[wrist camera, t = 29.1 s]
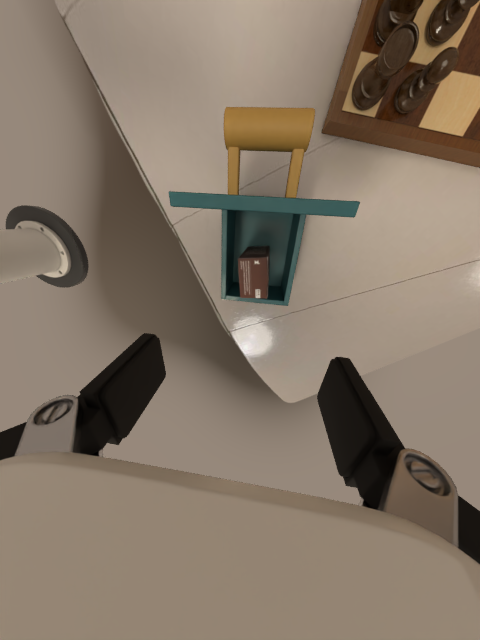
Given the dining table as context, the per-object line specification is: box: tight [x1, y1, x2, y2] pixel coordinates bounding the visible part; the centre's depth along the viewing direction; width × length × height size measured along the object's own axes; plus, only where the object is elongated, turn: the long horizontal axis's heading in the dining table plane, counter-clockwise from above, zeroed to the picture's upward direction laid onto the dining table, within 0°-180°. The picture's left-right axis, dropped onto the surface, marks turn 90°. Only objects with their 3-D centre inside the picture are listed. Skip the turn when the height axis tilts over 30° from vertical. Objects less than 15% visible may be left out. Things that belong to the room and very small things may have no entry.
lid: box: [169, 107, 360, 217], centre depth 16 cm, size 15×12×5 cm
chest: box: [221, 209, 306, 306], centre depth 32 cm, size 15×12×9 cm
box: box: [238, 246, 270, 299], centre depth 31 cm, size 6×4×12 cm
